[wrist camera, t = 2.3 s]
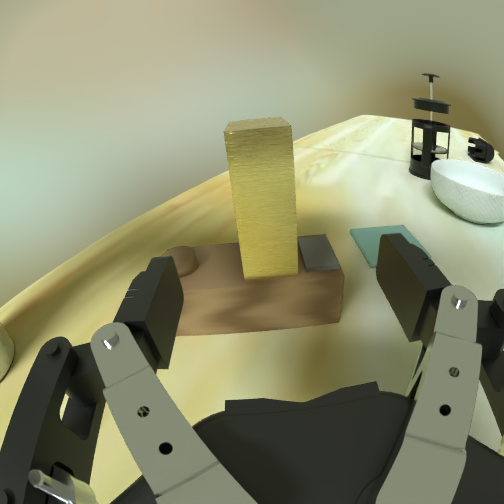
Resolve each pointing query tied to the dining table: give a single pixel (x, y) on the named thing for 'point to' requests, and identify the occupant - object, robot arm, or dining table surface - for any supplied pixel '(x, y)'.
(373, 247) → the mat
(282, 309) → the body
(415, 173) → the french press
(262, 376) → the dining table surface
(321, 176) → the dining table surface
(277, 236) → the brushed brass block
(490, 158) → the end cap
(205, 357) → the dining table surface
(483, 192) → the cereal bowl
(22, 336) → the dining table surface
